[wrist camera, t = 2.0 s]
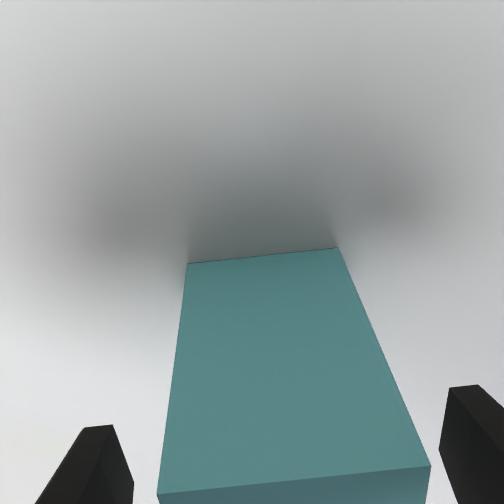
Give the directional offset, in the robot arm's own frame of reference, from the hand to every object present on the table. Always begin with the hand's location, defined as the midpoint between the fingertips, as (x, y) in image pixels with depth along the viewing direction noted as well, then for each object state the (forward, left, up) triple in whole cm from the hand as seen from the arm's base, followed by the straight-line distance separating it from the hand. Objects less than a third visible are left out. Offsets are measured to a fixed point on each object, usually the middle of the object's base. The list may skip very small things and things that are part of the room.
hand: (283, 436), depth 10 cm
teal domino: (0, 0, -7) cm, 7 cm away
